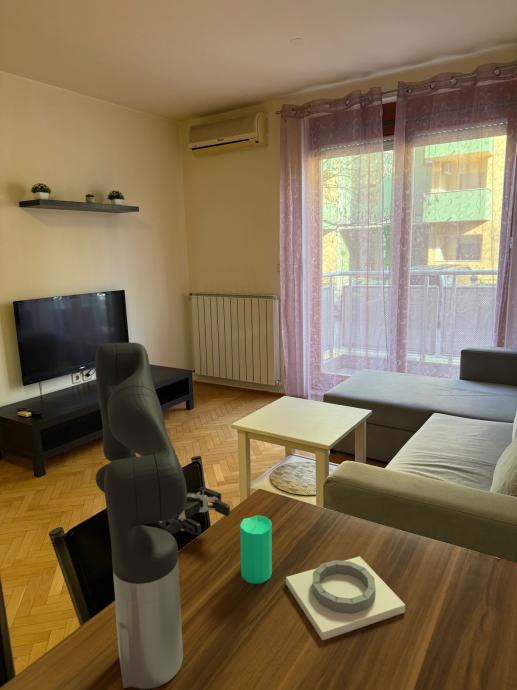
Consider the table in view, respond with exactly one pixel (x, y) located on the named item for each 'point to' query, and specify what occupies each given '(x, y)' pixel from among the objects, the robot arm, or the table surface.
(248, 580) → the candle
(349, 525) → the table surface
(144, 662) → the robot arm
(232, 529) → the table surface
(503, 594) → the table surface
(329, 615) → the jig plate
